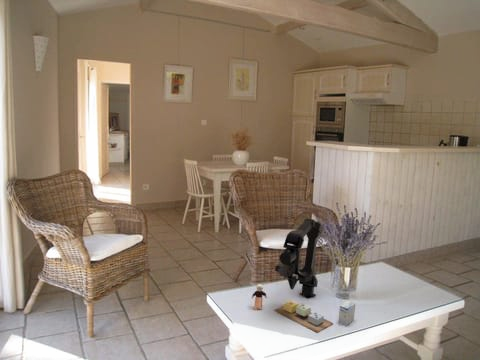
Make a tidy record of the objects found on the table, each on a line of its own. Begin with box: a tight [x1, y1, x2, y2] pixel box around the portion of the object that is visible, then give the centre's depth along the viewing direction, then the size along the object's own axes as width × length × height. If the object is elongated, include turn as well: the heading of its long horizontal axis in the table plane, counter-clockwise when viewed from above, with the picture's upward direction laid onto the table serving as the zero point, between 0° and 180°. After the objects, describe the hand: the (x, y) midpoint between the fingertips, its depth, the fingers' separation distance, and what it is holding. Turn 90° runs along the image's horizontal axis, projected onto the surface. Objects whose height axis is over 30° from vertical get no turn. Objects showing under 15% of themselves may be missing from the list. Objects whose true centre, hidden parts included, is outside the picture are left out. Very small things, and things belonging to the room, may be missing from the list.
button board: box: [273, 305, 334, 334], centre depth 191 cm, size 12×26×1 cm, turn 43°
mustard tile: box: [283, 300, 299, 313], centre depth 196 cm, size 5×5×3 cm
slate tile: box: [308, 311, 325, 325], centre depth 186 cm, size 5×5×3 cm
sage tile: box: [296, 303, 312, 316], centre depth 191 cm, size 5×5×3 cm
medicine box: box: [337, 300, 356, 327], centre depth 188 cm, size 8×4×9 cm, turn 141°
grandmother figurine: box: [251, 283, 268, 311], centre depth 198 cm, size 8×4×13 cm, turn 105°
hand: (291, 289), depth 195 cm, fingers closed
